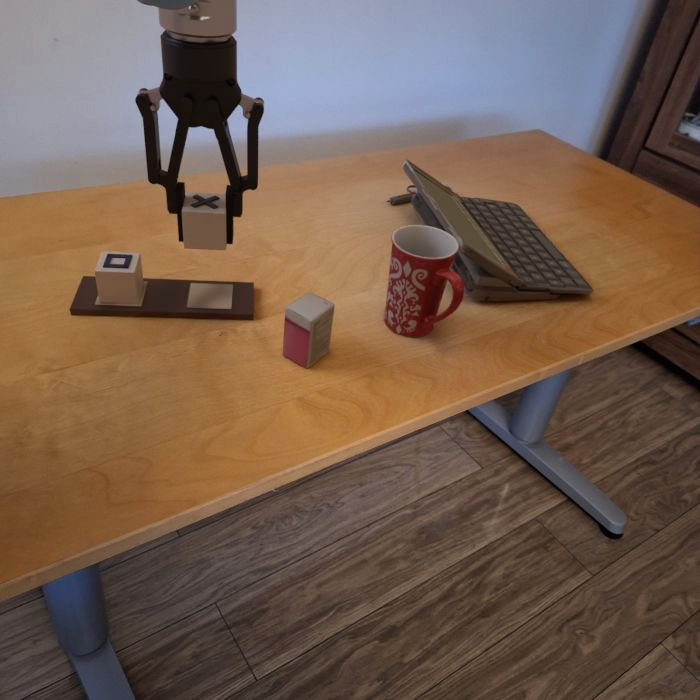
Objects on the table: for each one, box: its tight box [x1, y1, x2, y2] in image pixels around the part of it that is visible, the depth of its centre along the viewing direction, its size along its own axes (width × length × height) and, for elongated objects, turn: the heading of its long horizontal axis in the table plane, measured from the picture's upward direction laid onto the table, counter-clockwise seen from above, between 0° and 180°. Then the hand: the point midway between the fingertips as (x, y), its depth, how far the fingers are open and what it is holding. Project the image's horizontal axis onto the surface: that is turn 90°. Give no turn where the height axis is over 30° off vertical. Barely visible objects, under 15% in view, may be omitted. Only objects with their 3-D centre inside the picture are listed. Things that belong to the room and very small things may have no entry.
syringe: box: [381, 184, 453, 205], centre depth 121 cm, size 8×18×2 cm, turn 124°
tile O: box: [93, 250, 144, 304], centre depth 84 cm, size 5×5×5 cm
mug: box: [383, 224, 465, 338], centre depth 84 cm, size 13×9×14 cm
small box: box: [282, 291, 336, 369], centre depth 79 cm, size 5×4×8 cm
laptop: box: [401, 159, 594, 302], centre depth 106 cm, size 26×32×10 cm
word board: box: [69, 275, 255, 321], centre depth 87 cm, size 24×8×1 cm, turn 96°
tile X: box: [182, 191, 228, 251], centre depth 75 cm, size 5×5×5 cm
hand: (206, 237), depth 77 cm, fingers closed on tile X, 5 cm apart
